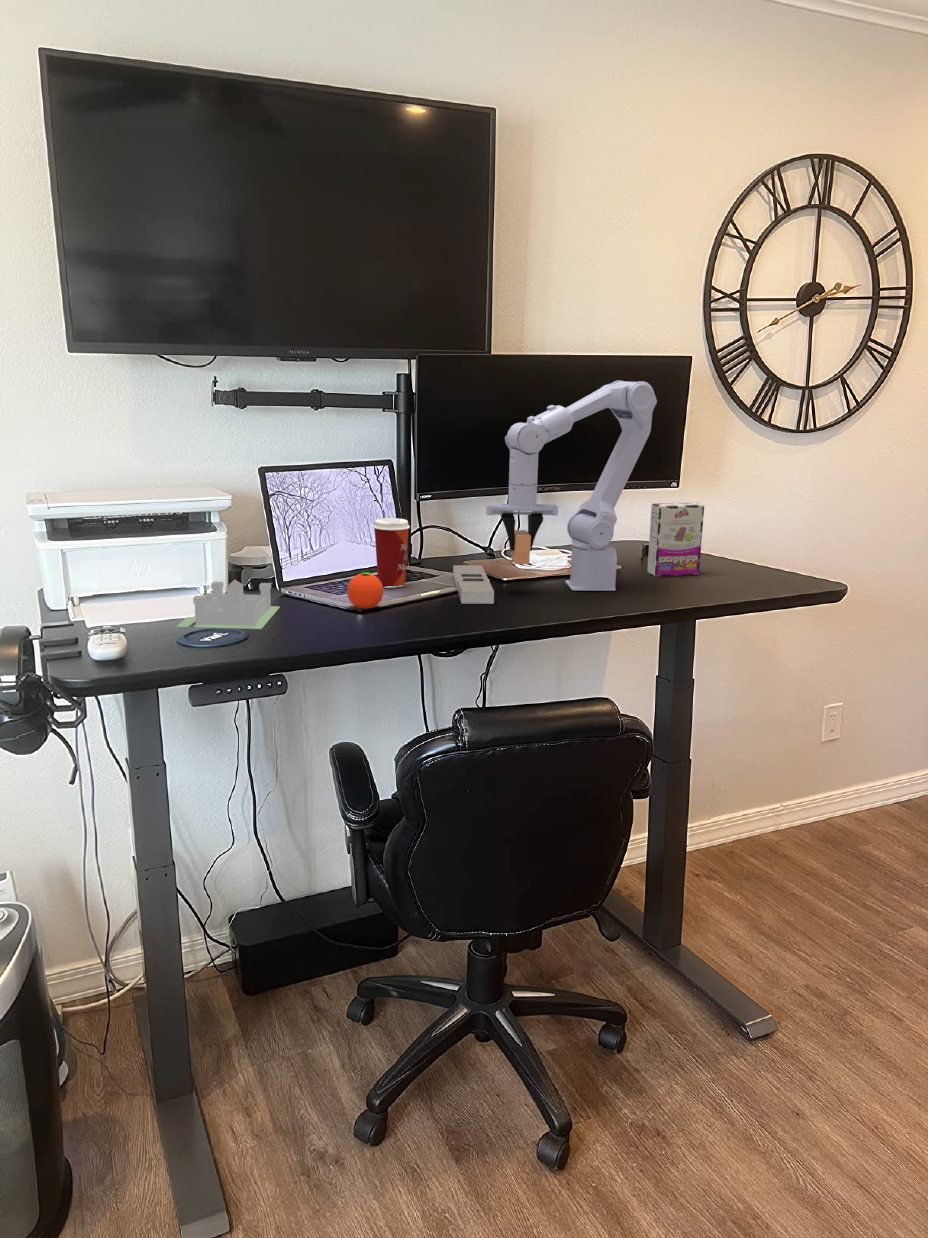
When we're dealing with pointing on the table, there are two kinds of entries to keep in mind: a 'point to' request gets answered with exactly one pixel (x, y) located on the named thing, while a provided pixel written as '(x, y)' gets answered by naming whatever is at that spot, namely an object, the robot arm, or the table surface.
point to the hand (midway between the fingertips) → (520, 549)
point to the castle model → (232, 608)
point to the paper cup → (391, 550)
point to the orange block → (521, 547)
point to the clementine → (365, 590)
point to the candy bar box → (675, 539)
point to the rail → (473, 584)
